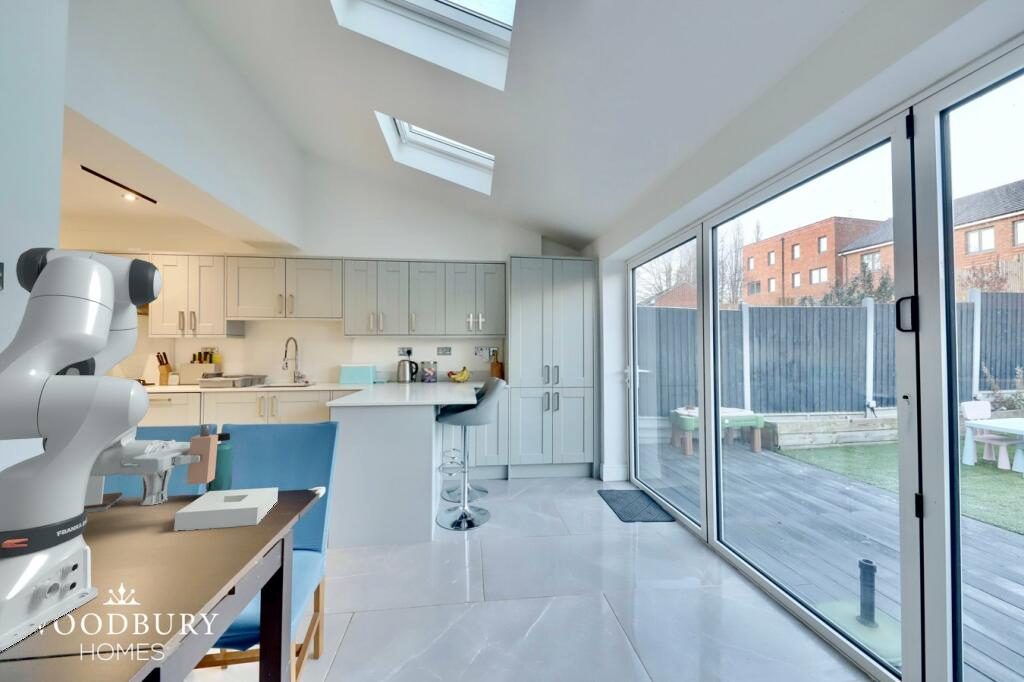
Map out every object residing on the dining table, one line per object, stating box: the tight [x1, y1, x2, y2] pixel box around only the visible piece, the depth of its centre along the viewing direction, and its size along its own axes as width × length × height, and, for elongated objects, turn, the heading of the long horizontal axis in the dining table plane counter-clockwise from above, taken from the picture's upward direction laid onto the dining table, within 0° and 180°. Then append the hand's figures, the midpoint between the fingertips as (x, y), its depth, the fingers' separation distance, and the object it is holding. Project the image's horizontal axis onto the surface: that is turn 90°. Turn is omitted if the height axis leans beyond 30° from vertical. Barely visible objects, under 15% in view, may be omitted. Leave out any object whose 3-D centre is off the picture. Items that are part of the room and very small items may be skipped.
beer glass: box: [139, 468, 173, 506], centre depth 117 cm, size 7×7×15 cm
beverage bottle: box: [205, 432, 234, 494], centre depth 123 cm, size 6×7×20 cm
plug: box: [186, 423, 219, 485], centre depth 104 cm, size 4×4×15 cm
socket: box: [173, 487, 279, 532], centre depth 108 cm, size 18×18×4 cm
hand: (207, 456), depth 104 cm, fingers closed on plug, 5 cm apart
